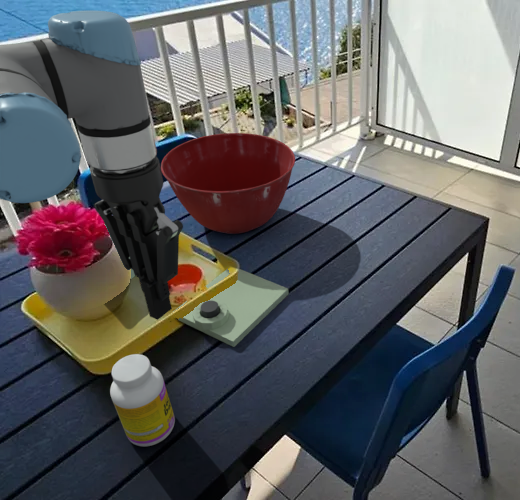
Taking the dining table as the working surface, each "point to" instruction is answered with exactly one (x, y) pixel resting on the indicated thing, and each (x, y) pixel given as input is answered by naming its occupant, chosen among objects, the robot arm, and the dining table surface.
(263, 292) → the scale
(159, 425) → the supplement bottle
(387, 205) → the dining table surface
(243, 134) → the mixing bowl
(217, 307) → the button
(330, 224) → the dining table surface
